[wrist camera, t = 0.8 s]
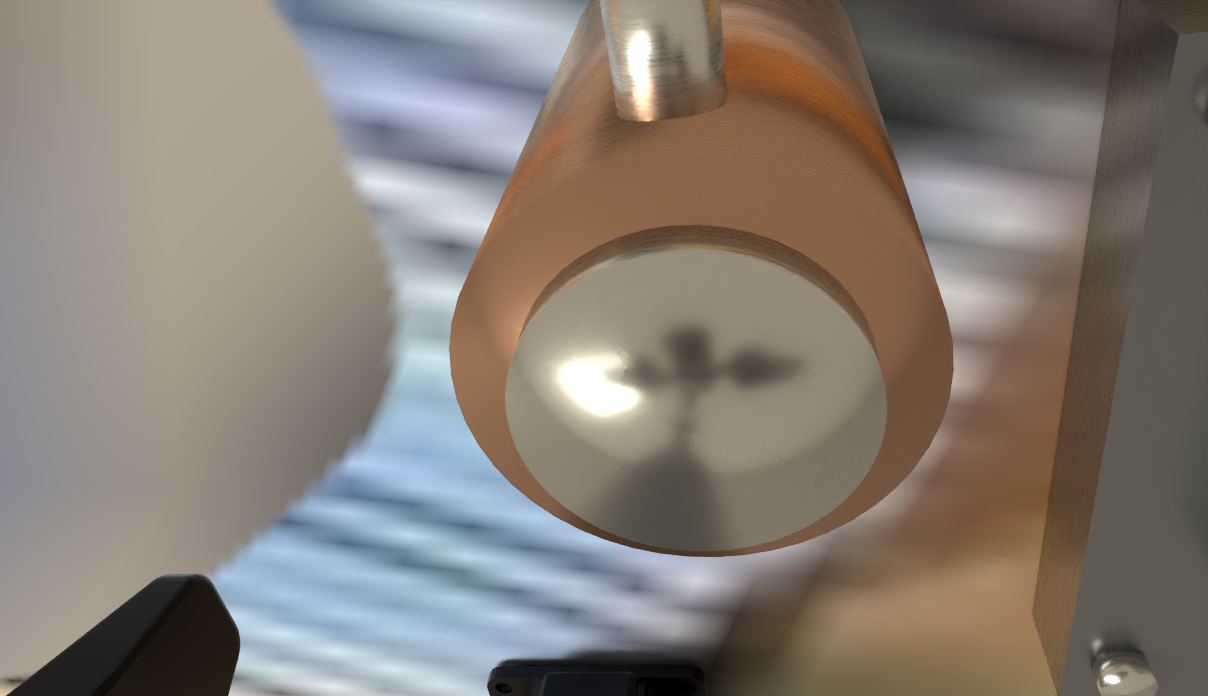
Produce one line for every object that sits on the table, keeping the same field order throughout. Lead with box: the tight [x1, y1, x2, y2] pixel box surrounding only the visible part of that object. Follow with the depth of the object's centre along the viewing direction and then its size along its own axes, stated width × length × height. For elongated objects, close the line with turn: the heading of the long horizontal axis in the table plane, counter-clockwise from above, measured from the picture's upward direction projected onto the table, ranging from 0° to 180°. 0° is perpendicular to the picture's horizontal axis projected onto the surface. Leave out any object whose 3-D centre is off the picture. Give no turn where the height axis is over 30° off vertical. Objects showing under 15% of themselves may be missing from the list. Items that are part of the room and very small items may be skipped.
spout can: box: [449, 0, 953, 557], centre depth 13 cm, size 7×6×10 cm
